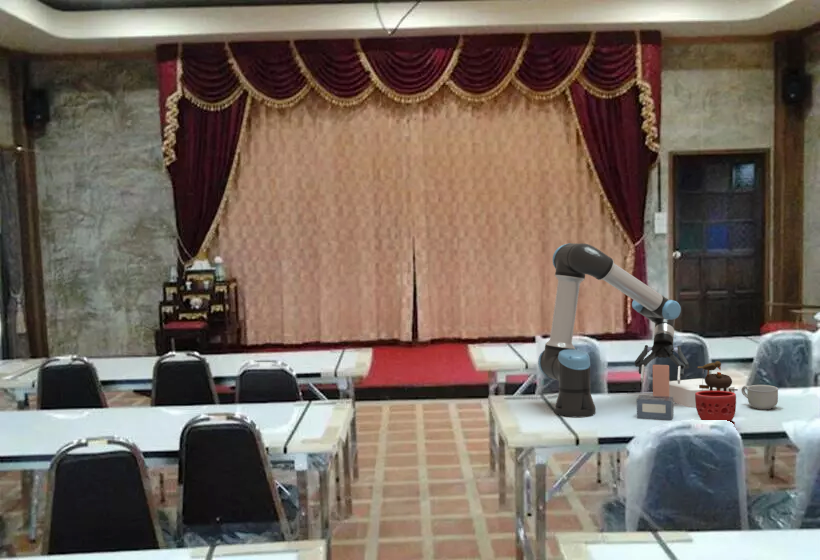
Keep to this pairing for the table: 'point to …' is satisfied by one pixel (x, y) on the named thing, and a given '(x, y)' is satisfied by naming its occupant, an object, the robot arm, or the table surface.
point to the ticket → (661, 380)
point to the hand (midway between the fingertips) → (660, 381)
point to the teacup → (761, 396)
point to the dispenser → (655, 407)
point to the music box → (716, 378)
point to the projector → (688, 391)
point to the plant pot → (716, 412)
